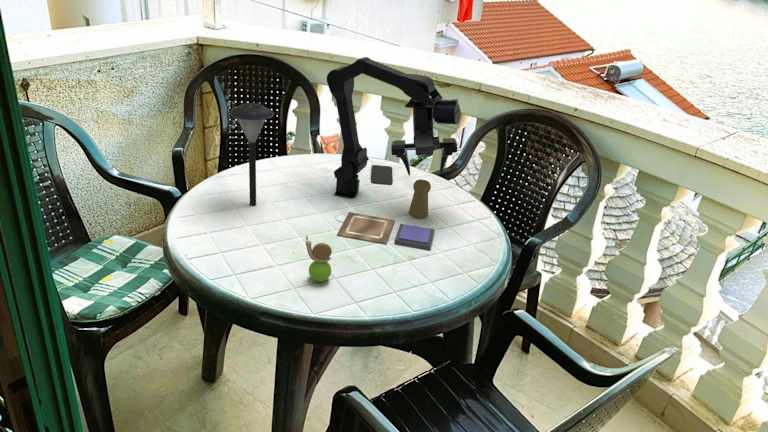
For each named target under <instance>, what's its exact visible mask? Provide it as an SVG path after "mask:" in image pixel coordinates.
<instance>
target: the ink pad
mask: <svg viewBox="0 0 768 432" xmlns="http://www.w3.org/2000/svg"><path fill="white" fill-rule="evenodd" d="M435 231H436V229H434V228H430V227H429V228H428V227H422V226H416V225H409V224H406V223H400V224H399V226H398V229H397V232H396V236H395V238H394V242H393V244H394V245H397V246H403V247H409V248H414V249H420V250H427V251H431V248H432V244H433V239H434V237H435Z"/></svg>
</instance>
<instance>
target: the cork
mask: <svg viewBox="0 0 768 432" xmlns="http://www.w3.org/2000/svg"><path fill="white" fill-rule="evenodd" d="M412 187H413V188H412V189H413V194H412V197H411V202H410V207H409V210H408V215H409V216H410V217H411V218H414V219H420V220H422V219H423V220H424V219H426V218H428V217H429V193H430V191H431V187H432V184H431V183H430V181H428V180H426V179H421V178H419V179H416V180H415V181H414V183H413V186H412Z"/></svg>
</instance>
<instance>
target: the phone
mask: <svg viewBox="0 0 768 432" xmlns="http://www.w3.org/2000/svg"><path fill="white" fill-rule="evenodd" d="M370 168H371V170H370V171H371V172H370V183H371V184H374V185H381V186H382V185H383V186H384V185H386V186H392V185H393V180H394V179H393V167H392V166H389V165H378V164H372V165H371V167H370Z"/></svg>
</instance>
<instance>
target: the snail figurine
mask: <svg viewBox="0 0 768 432" xmlns="http://www.w3.org/2000/svg"><path fill="white" fill-rule="evenodd" d="M308 239H309V236H308V235H306V236H305V240H306V241H305V247H306V250H307V255H308V256H309V258H310V259H311V260H312V262H311V263H310V265H309V267H308V275H309V277H310V278H311V279H312V280H313V281H314V282H316V283H317V282H318V283H323V282H326V281H328V279H329V278H330V277H331V275H332V267H331V264H330V263H329V261H331V259H332V257H330V256H331V255H332V252H333V250H332V247H331V246H330V245H329V244H327V243H325V242H320V243H317V244H315V245H313V247H312V241H311V240H308Z"/></svg>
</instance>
